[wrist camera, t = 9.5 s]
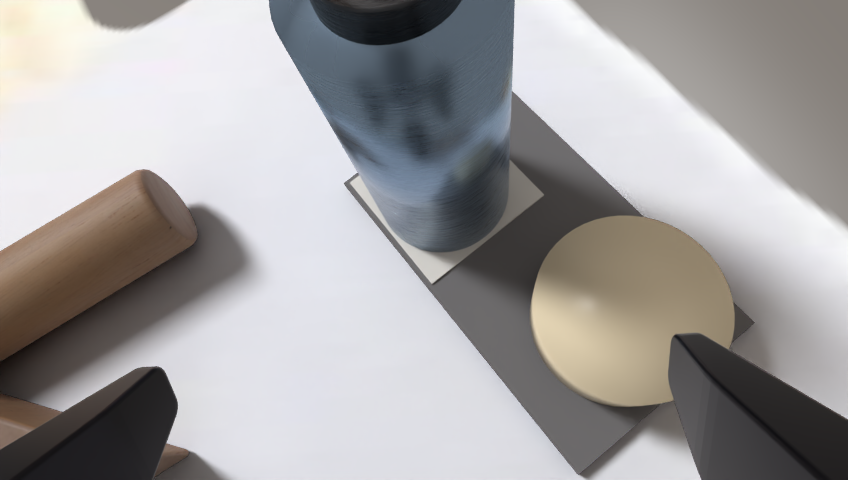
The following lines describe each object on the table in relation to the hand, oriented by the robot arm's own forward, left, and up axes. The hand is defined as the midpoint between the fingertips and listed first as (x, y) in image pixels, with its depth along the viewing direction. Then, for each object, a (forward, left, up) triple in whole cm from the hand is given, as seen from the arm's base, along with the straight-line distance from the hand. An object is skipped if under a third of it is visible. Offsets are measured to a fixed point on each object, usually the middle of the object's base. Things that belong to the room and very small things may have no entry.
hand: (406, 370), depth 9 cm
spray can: (+6, -5, -10) cm, 13 cm away
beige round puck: (-1, -6, -10) cm, 12 cm away
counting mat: (+3, -6, -11) cm, 12 cm away
